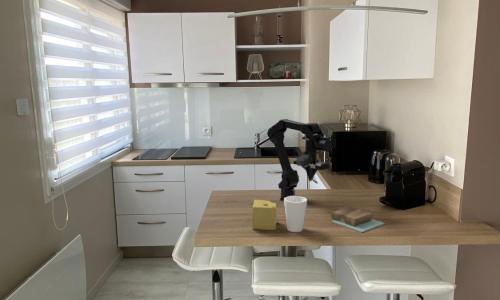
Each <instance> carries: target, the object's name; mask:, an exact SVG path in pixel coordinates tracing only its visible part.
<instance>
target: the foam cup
mask: <svg viewBox="0 0 500 300" xmlns="http://www.w3.org/2000/svg"><path fill="white" fill-rule="evenodd" d="M283 206H284V211H285V219H286V220H285V221H286V229H287V231H288V232H292V233H299V232H300V233H301V232H302V231H303V229H304V222H305V216H306V215H305V214H306V210H307V207H308V199H307V198H306V197H304V196H298V195H295V196H289V197H285V198H284V201H283Z"/></svg>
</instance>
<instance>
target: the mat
mask: <svg viewBox="0 0 500 300" xmlns="http://www.w3.org/2000/svg"><path fill="white" fill-rule="evenodd" d="M331 223H333V224H336V225H339V226H343V227H345V228H348V229H350V230H353V231H357V232H360V233H365V232H367V231H370V230H372V229H374V228H375V229H376V228H378V227H380V226H383V225H385V222H383V221H381V220H376V219H372V218H371V221H369V222H366V223H364V224H361V225H358V226H356V227H353V226H350V225H347V224H345V223H342V222H339V221H336V220H333V219H332V220H331Z"/></svg>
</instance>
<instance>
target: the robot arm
mask: <svg viewBox="0 0 500 300" xmlns="http://www.w3.org/2000/svg"><path fill="white" fill-rule="evenodd" d="M287 129H289V130H294V131H298V132H300V133H301V134H303V135H304V136H302V138H301V139H302V140H305V147H304V151H302V154H301V155H300V156H298V157H296V158H295V157H294V159H293V161H292V162H293V165H295V166H296V165H297V166H298V167H299V166H300V167H301V168H302V169H304V170H305V173H306V174H307V175H306V176H307V179H308V181H309V182H312V181H313V179H314V177H315V175H316V173H317V172H318V170H319V171H324V170H328V169H330V164H329V163H328V162H327V161H319V159H318V154H320V152H324V153H330V152H331V150H332V147H333V144H332V140H330V136H329V137H328V136H326V137H325V135H324V133H323V131H322V129H321V127H320V125H319V123H318V122H306V123H304V122H300V121H296V120H291V119H287V118H283V119H280V120H278V122H276V123H275V124H273V125H272V126H271V127H269V128H268V129H267V132H266V133H267V137H268V140H269V141H270V142H271V144H273V145H274V149H275V151H276V155H277V158H278V160H279V164H280V168H281V170H282V172H281V180H280V182H279V183H278V184H277V186H278V189H280V198H279V201H283V202H284V198H285V197H289V196H296V191H295V188H297V186H298V184H299V182H300V176H299V174H298V171H297V169H294V168H292V165H291V164H292V163H291V162H290V158H289V155H288V152H287V150H286V146H285V143H284V141H285V133H286V132H287Z"/></svg>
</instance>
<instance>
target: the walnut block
mask: <svg viewBox="0 0 500 300" xmlns="http://www.w3.org/2000/svg"><path fill="white" fill-rule="evenodd" d="M331 213H332V214H331V219H332V221H333V220H336V221H339V222H342V223H345V224H347V225H350V226H353V227H356V226H358V225H361V224H364V223H366V222H369V221H371V219H372V215H373V213H372V212H369V211H366V210H362V209H359V208H356V207H352V206H347V207H343V208H340V209H337V210H334V211H332V212H331Z"/></svg>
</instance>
